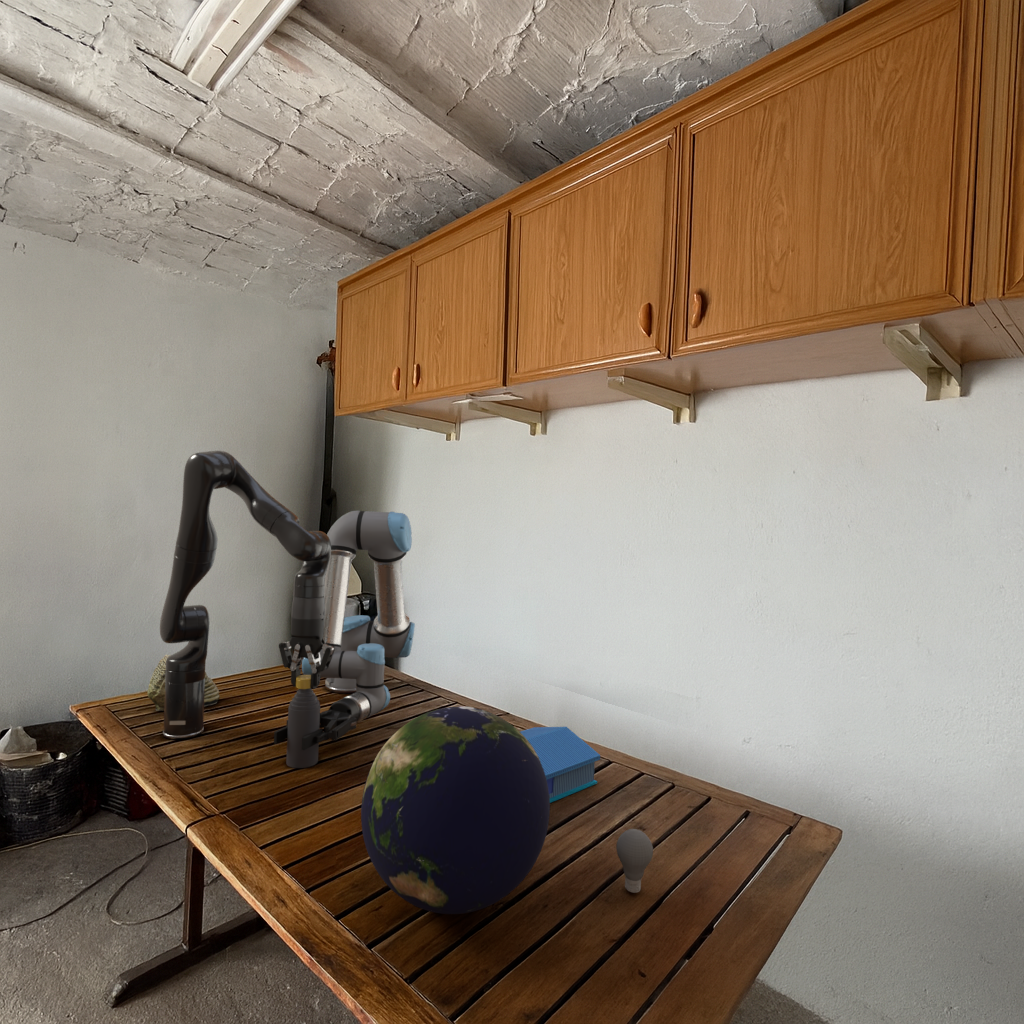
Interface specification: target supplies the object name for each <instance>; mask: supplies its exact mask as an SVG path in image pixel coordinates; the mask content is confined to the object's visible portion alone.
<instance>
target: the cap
mask: <svg viewBox="0 0 1024 1024" xmlns="http://www.w3.org/2000/svg"><path fill="white" fill-rule="evenodd" d="M295 688H296V689H298V690H299V689H310V688H311V675H304V674H300V676H298V677H296V687H295Z"/></svg>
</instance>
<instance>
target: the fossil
mask: <svg viewBox="0 0 1024 1024" xmlns="http://www.w3.org/2000/svg"><path fill="white" fill-rule="evenodd" d="M171 655H172V654H165V655H164V656H163V657H162V658H161V659H160V660H159V662H158V663H157V666H156V667H155V669H154V670H153V672H152V675H151V677H150V680H149V684H148V688H147V697H148V699H149V700H150V701H152V703H153V704H154V706H155V711H158V712H159V711H162V712H163V711H164V705H165V674H166V660H167V658H168V657H169V656H171ZM220 698H221V696H220V690H219V688H218V686H217V685H216V683H215V682H214V681H213V679H212V678H211V677H209V675H208V674H207V672H206V671H205V693H204V707H207V706H213V705H215V704H217V703H218V701H219V699H220Z"/></svg>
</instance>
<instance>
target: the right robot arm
mask: <svg viewBox="0 0 1024 1024" xmlns="http://www.w3.org/2000/svg"><path fill="white" fill-rule="evenodd" d="M412 533H413V532H412V526H411V521H410V519H409V517H408V516H407V515H406V514H405V513H403V512H395V511H374V510H373V511H371V510H351V511H349V512H346V513H344V514H343V515H341V516H340V517H339V518H338V519H337V520H336V521H335V522H334V523H333V524H332V525H331V527H330V529H329V530H328V531H327V534H326V535H327V536H328V537H329V539H330V542H331V556H330V561H329V565H328V569H327V572H326V576H325V592H324V600H325V619H324V635H323V639H324V642H325V644H327V645H329V646H334V647H335V651H334V654H333V656H332V659H331V662H330V665H329V667H328V669H326V670H324V671H322V672H320V679H325V682H324V683H325V684H324V686H325V687H324V688H325V689H326V690H327V691H329V692H332V693H337V694H349V695H347V696H345V697H342V698H341V699H339V700H336V701H334V702H333V703H332V704H331V705H330V707H329V708H328V709H326V710H323V711H321V712H320V725H319V730H317V731H315V732H313V733H311V734H309V735H307V736H305V737H303V738H302V750H306V749H307V748H309V747H311V746H313V745H315V744H317V743H319V744H320V743H322V742H323V741H329V740H331V741H333V742H335V741H337V740H339V739H340V738H342V737H343V736H344V735H346V734H347V733H348V732H350V731H352V730H355V729H357V724H358V723H360V722H362V721H364V720H366V719H368V718H370V717H372V716H374V715H376V714H378V713H380V712H381V711H383V710H384V709H385V708H387V707H388V705H389V704H390V701H391V693H390V691H389V688H388V687H387V686H386V685H385V664H386V660H385V658H390V659H391V658H393V659H394V658H395V659H399V658H400V659H401V658H407V657H409V656H410V655H411V653H412V652H411V651H412V646H413V642H414V635H415V628H416V624H415V622H413V621H410V617H409V615H408V614H407V613H405V592H404V570H403V559H404V558H405V557H406V556H407V554H408V552H410V551H411V548H412V543H413V538H412ZM358 550H359V551H367V556H368V558H369V559H370V560H371V561H373V567H374V569H373V570H374V571H373V572H374V582H375V584H374V585H375V598H376V609H377V611H376V612H377V615H376V616H375V618H374V620H371V617H370V616H369V615H363V614H362V615H361V614H360V615H351V616H346V609H347V601H348V592H349V584H350V577H351V569H352V561H353V560H354V559H355V558H356V556H357V551H358ZM323 656H324V654H323V649H322V650H321V651H320V657H321V660H320V663H321V661H322V658H323ZM314 658H315V657H314ZM301 671H302V675H311V673H312V669H311V665H310V664H309V661H308V659H307V658H304V659H303V660H302V663H301ZM287 732H288V719H286V725H285V726H284V727H282V728H280V729H278V730H275V731H274V732H273V744H275V745H277V744H279V743H281V742H284V741H287Z"/></svg>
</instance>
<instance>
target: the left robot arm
mask: <svg viewBox="0 0 1024 1024" xmlns="http://www.w3.org/2000/svg"><path fill="white" fill-rule="evenodd" d="M223 488H225V489H227V490H229V491H231V492H233V493H234V494H236V495H237V496H238V497H239V498H240V499H241V500H242V501H243V502H244V504H245V506H246V508H247V510H248V512H249V514H250V516H251V517H252V519H253V520H254V521H255V522H256V524H258V525H259V526H260V527H261V528H263V529H264V530H265V531H266V532H268V533H269V534H270V535H271V536H273V537H274V538H276V540H277V541H278V542H279V544H280V545H281V546H282V547H283V549H284V550H285V551H286V552H287V553H288V554H289V555H290V556H291V557H292V558H295V559H296V560H298V561H300V562H302V565H301V567H300V570H299V571H297V572H296V573H295V576H294V579H293V593H292V594H293V597H292V598H293V599H292V603H291V619H290V635H291V637H290V638H289V641H287V640H285V641H283V642H280V643H279V644H278V648H279V652H280V657H281V661H282V665H283V668H285V669H288V670H290V672H291V673H290V675H291V676H290V683H291V685H292V687H293V688H296V677H298V676H300V675H301V671H302V669H300V668H301V667H302V660H303V659H304V658H307V659H308V661H309V664H310V665H311V669H312V673H311V689H312V690H315V689H317V688H318V686H320V684H321V678H320V672H322V671H324V670H326V669H328V667H329V665H330V662H331V659H332V656H333V654H334V651H335V647H334V646H329V645H327V644H325V642H324V639H323V635H324V619H325V600H324V592H325V576H326V572H327V569H328V565H329V561H330V556H331V542H330V539H329V537H328V536H327V534H326V532H324V531H321V530H307V529H306V528H304V527H303V526H302V525H301V524H300V519H299V517H298V516H297V515H296V514H295V513H294V512H293V511H291V510H290V509H289V508H287V507H286V506H285V505H283V504H282V503H281V502H280V501H278V500H277V499H276V498H275V497H273V496H272V495H271V494H270V493H269V492H268V491H266V490H265V488H264V487H263V486H261V484H260V483H259V482H258V481H257V480H256V479H255V478H254V477H253V476H252V475H251V474H250V473H249V471H248V470H247V469H246V468H245V467H244V466H243V465H242V464H241V463H240V462H239V460H237V459H236V458H235V456H233V455H232V454H231V453H229V452H227V451H224V450H209V451H199V452H195V453H193V454H191V455H190V456H189V457H188V459H187V460H186V463H185V465H184V471H183V482H182V501H181V503H182V504H181V511H180V519H179V525H178V533H177V537H176V541H175V547H174V553H173V558H172V559H173V561H172V567H171V575H170V580H169V585H168V589H167V593H166V596H165V600H164V603H163V608H162V611H161V616H160V621H159V636H160V638H161V641H163V642H164V643H165V644H180V643H187V644H186V645H185V646H184V647H183V648H181V649H180V650H179V651H177V652H175V653H172V654H170V655H171V656H169V657H168V658H167V660H166V674H165V705H164V710H163V731H162V737H164V738H166V739H169V740H185V739H190V738H191V739H192V738H194V737H197V736H199V735H202V734H203V732H204V730H205V729H204V726H205V725H204V722H205V721H204V718H205V706H204V693H205V672H206V664H207V663H206V662H207V661H206V660H207V656H208V646H209V636H210V622H211V621H210V613H209V610H208V609H207V607H206V606H205V605H203V604H192V605H185V603H186V601H187V599H188V597H189V595H190V593H191V592H192V591H193V590H194V589H195V587H197V585H199V583H200V582H201V581H202V580H203V579H204V577H206V575H207V574H208V573H209V572H210V571H211V569H212V568H213V566H214V563H215V559H216V553H217V548H218V534H217V531H216V529H215V526H214V523H213V521H212V519H211V516H210V505H211V499H212V495H213V492H214V490H217V489H223ZM291 649H292V651H293V653H292V651H291ZM322 649H323V654H324V656H323V658H322V661H321V663H320V660H321V657H320V651H321V650H322ZM314 657H315V658H314Z"/></svg>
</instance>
